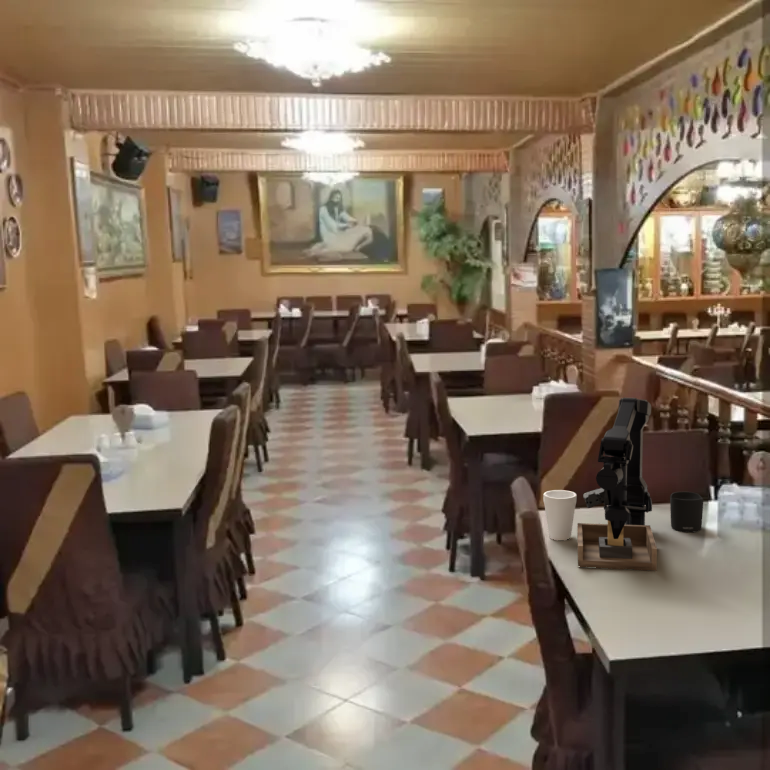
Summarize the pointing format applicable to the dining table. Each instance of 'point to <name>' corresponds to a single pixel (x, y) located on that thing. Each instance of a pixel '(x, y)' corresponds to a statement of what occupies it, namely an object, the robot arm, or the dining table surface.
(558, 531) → the foam cup
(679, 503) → the pen holder
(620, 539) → the wooden block
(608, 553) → the inlet box
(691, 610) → the dining table surface
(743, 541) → the dining table surface
